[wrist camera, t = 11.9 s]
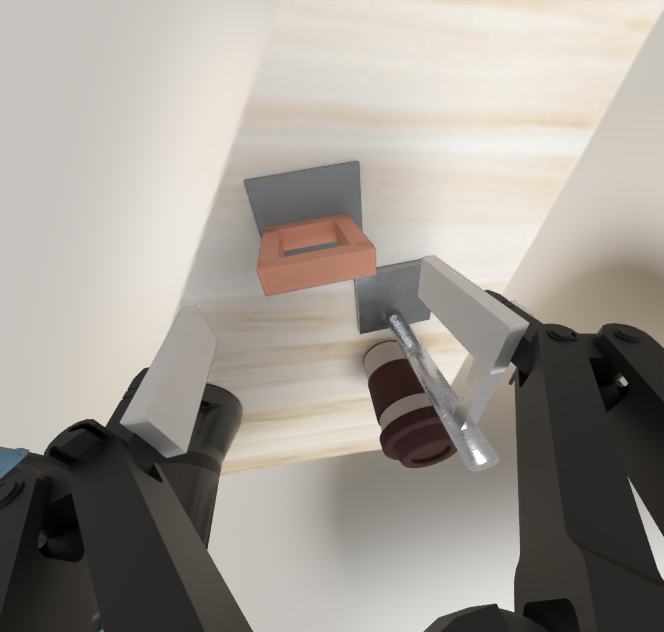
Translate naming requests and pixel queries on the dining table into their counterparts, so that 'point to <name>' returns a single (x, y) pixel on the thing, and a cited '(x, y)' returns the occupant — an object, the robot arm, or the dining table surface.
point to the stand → (428, 357)
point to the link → (314, 254)
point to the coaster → (306, 198)
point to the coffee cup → (404, 410)
